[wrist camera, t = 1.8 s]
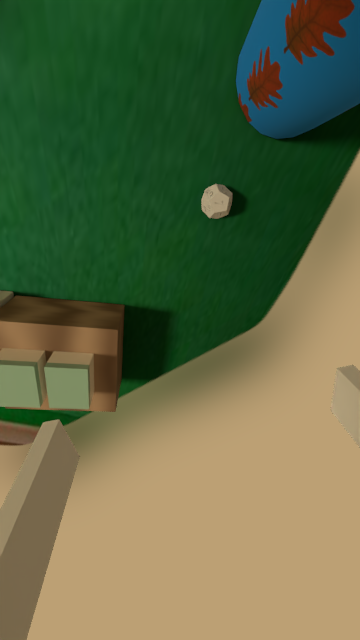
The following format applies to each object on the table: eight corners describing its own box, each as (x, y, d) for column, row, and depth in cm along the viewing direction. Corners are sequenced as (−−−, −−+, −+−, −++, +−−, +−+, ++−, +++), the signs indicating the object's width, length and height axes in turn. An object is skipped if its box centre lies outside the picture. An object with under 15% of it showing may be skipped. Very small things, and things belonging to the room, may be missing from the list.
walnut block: (29, 373, 39) (5, 408, 33) (16, 295, 34) (-16, 320, 27) (121, 378, 41) (115, 411, 35) (124, 304, 36) (117, 329, 29)
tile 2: (57, 390, 33) (49, 407, 30) (53, 351, 30) (44, 367, 27) (94, 391, 33) (89, 409, 31) (93, 353, 31) (87, 369, 28)
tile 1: (11, 388, 32) (-2, 406, 29) (3, 347, 29) (-13, 364, 27) (49, 389, 33) (40, 407, 30) (44, 350, 30) (33, 366, 27)
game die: (201, 181, 29) (206, 181, 27) (232, 187, 30) (240, 187, 27) (196, 214, 31) (200, 217, 28) (225, 219, 32) (232, 222, 29)
